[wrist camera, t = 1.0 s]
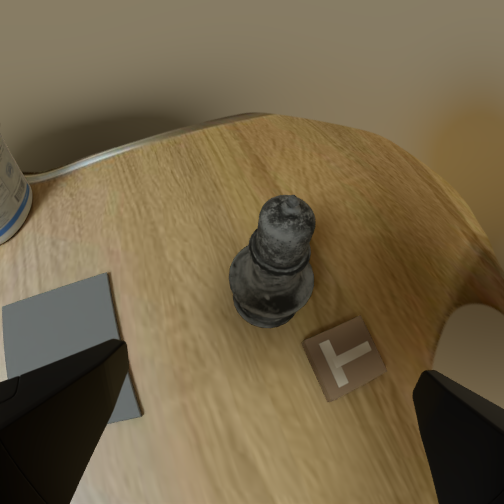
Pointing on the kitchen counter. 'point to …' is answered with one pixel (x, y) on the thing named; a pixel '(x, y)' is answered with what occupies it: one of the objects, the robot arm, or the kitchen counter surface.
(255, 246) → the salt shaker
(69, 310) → the slate mat
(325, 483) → the kitchen counter surface
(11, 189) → the supplement tub
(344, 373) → the letter tile
